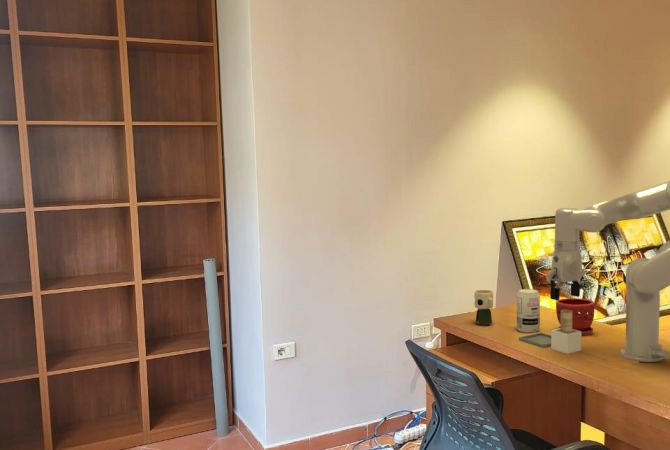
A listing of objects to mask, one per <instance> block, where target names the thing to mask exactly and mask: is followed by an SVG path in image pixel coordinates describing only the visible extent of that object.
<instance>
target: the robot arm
mask: <svg viewBox="0 0 670 450" xmlns="http://www.w3.org/2000/svg"><path fill="white" fill-rule="evenodd" d="M669 210H670V180H667V181H664V182H661V183H658V184H656V185H655V184H654V185H652V186H649V187H646V188H643V189H640V190H637V191H633V192H630V193H627V194H625V195H622V196H619V197H615V198H613V199H609V200H606V201H603V202H600V203H596V204H593V205H590V206H588V207H586V208H584V209H580V210H579V209H578V208H571V207H565V208H564V207H563V208H557V209H556V210H555V214H554V215H555V217H554V223H555V224H554V245H553V247H554V248H553V249H554V250H553V253H552V258H551V267H550V269H551V270H550V271H549V272H548V273H547V274H546V275H545V278H546V281H547V284H548V287H549V288H550V293H549V295H550V297H549V299H550V300H553V301H557V300H560V292H561V291H560V288H559V287H560V285H561V283H570V282H571V284H570V296H573V297H575V298H579V297H581V294H580V293H581V285H582V281H583V279H584V276H585V273H586V270H585V269H583V260H582V252H581V250H580V232H585V233H586V232H587V233H599V232H601V231H602V230H604V228H605V227H606V226H607V225H610V224H614V223H616V222H620V221H624V220H625V221H626V220H635V219H636V220H638V219H644V218H647V217H650V216H654V215H656V214H660V213H663V212H667V211H669ZM657 252H658V253H657V254H656V255H654V256H652V257H651V258H647V257H640V258H639V257H638V258H635V259H633V260H632V261H631V262H630V263H628V265H627V267H626V272H625V287H626V289H625V291H626V294H625V295H626V296H625V297H626V302H625V303H626V305H625V306H626V307H625V343H624V344H625V346H624V348H621V349H620V350H619V355H621V356H622V357H623V358H627V359H630V360H635V361H638V362H641V363H655V362H656V363H658V362H661V361H663V360H664V359H666V360H668V358H669V356H670V351H669V350H664V349H663V348H662V347H663V345H662V344H660V342H659V341H660V340H659V338H660V307H661V299H660V297H661V294H660V293H661V291H662V290H665V289H666V288H668V287H670V239H669V240H668V241H666V242H664V243H662V245H661V246H660V247H659V249H658V251H657Z"/></svg>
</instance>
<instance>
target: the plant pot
mask: <svg viewBox="0 0 670 450" xmlns="http://www.w3.org/2000/svg"><path fill="white" fill-rule="evenodd" d="M555 310H556V311H555V312H556V317H557V320H558V323H559V325H560V326H559V327H558V329H559V328H561V310H571V311H572V329H574V330H578V331H581V337H582V336H589V335H590V334H592V333H593V332H594V329H593V327H591V326H592V324H593V322H594V318H595V302H594V301H593V300H591V299H587V298H579V297H575V298H574V297H572V298H570V297H569V298H568V297H567V298H561V299H560V298H559V300H555Z"/></svg>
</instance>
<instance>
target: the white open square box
mask: <svg viewBox="0 0 670 450" xmlns="http://www.w3.org/2000/svg"><path fill="white" fill-rule="evenodd" d="M550 330H551V331H550V332H551V334H550V335H551V346H550V349H551V350H553V351H556V352H560V353H563V354H567V355H569V354H572V353H577V352H581V351H582V336H581V331H578V330H574V329H572V333H569V334H566V333H563V332H561V328H559V327H558V328H555V329H550Z"/></svg>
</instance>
